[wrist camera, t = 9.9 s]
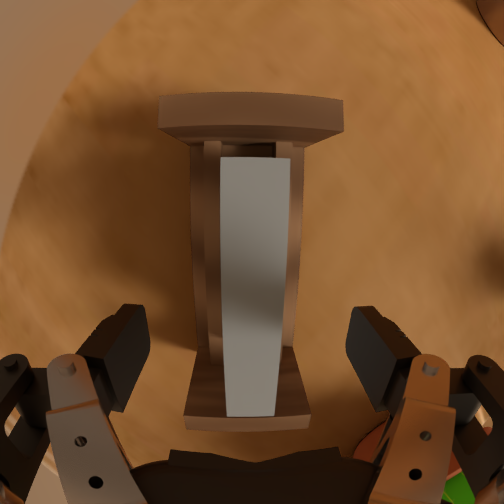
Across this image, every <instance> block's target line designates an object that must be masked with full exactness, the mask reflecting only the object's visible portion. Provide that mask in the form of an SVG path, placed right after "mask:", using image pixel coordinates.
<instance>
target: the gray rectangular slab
mask: <svg viewBox="0 0 504 504" xmlns="http://www.w3.org/2000/svg"><path fill="white" fill-rule="evenodd" d="M289 193H290V159H288V158H262V157H221V162H220V250H221V299H222V330H223V354H224V375H225V393H226V410H227V417H258V416H274V413H275V403H276V394H277V383H278V373H279V362H280V350H281V338H282V325H283V311H284V297H285V281H286V263H287V244H288V221H289Z"/></svg>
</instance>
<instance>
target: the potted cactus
mask: <svg viewBox="0 0 504 504" xmlns="http://www.w3.org/2000/svg"><path fill="white" fill-rule="evenodd" d="M385 423H386V422H384V423H383V424H381V425H380V426H378V427H377V428H376V429H374V430H373V431H372V432H371V433H369V434H368V435H367V436H366V437H365V438H364V439H363V440H362V441H361V442H360V443H359V445H358V446H357V448H356V450H355V452H354V455H353V458H355V459H360V460H364V461H367V462H369V461H370V459H371V457H372V455H373V452H374V450H375V448H376V445H377V443H378V441H379V438H380V436H381V433H382V431H383V428H384V425H385ZM483 429H484V431H485V432H486V434H487V435H489V434H490V432H491V431H492V428H491V427H484V428H483ZM442 499H444V500H446V501H448V502H451V503H453V504H474V503H475V497H474V495H473V493H472V490H471V488H470V486H469V484H468V482H467V480H466V478H465V476H464V474H463V471H462V469H461V467H460V465H459V463H458V461H457V460H456V458H455V456H454V454H453V452H452V451H451V457H450V463H449V469H448V474H447V478H446V483H445V487H444V491H443V495H442Z"/></svg>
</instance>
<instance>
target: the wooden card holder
mask: <svg viewBox="0 0 504 504" xmlns="http://www.w3.org/2000/svg"><path fill="white" fill-rule="evenodd" d="M158 129H160V130H162V131H164V132H166V133H167V134H169V135H171V136H173V137H175V138H177V139H178V140H180V141H182V142H184V143H186V144H187V145H189V146H190V216H191V248H192V270H193V287H194V302H195V315H196V328H197V339H198V350H197V355H196V359H195V364H194V368H193V373H192V377H191V382H190V386H189V391H188V396H187V401H186V405H185V410H184V415H183V416H184V420H185V425H186V429H190V430H204V431H230V432H253V431H279V430H293V429H304V428H308V426H309V422H310V418H311V411H310V408H309V404H308V400H307V397H306V393H305V390H304V386H303V382H302V379H301V375H300V372H299V368H298V365H297V361H296V358H295V354H294V351H293V347H292V346H293V337H294V326H295V316H296V305H297V293H298V280H299V266H300V250H301V233H302V212H303V186H304V148H305V147H307V146H310V145H312V144H314V143H317V142H319V141H322V140H324V139H327V138H329V137H331V136H334V135H336V134H339V133H342V132H344V121H343V100H338V99H331V98H324V97H315V96H306V95H295V94H282V93H263V92H208V93H189V94H176V95H166V96H159V108H158ZM221 157H262V158H288V159H290V193H289V221H288V244H287V263H286V281H285V297H284V311H283V325H282V338H281V350H280V362H279V373H278V383H277V394H276V403H275V413H274V416H258V417H227V410H226V393H225V375H224V354H223V330H222V299H221V250H220V162H221Z"/></svg>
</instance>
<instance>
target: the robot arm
mask: <svg viewBox="0 0 504 504" xmlns="http://www.w3.org/2000/svg"><path fill="white" fill-rule="evenodd" d="M477 6H478V8H479V11H480V13H481V15H482V17H483V19H484V20H485V22H486V24H487V25H488V27H489V28H490V30H491V31H492V33H493V34H494V35H495V36H496V38H497V39H498V40H499V41H500V42H501V43H502V44H503V45H504V0H477ZM149 352H150V337H149V331H148V325H147V319H146V313H145V308H144V306H143V305H137V304H123V305H122V306H121V308H120V309H119V310H118V311H117V313H116V314H115V315H111V316H109V317H107V318H106V319H104V320H102V321H101V323H100V324H99V325H98V326H97V327H96V330H94V331H93V332H92V333H91V336H89V337H88V338H87V340H86V341H85V342H84V343H83V344H82V346H81V347H80V348H79V349H78V351H77V352H76V353H75V354H64V355H61V356H58V357H56V358H55V359H53V360H52V361H51V362H50V363H49V365H48V367H47V368H31V366H30V364H29V361H28V359H27V357H25V356H24V355H22V354H11V355H8V356H6V357H4V358H2V359H1V360H0V504H25V501H26V498H27V496H28V493H29V491H30V488H31V486H32V483H33V480H34V478H35V476H36V473H37V471H38V468H39V466H40V464H41V462H42V459H43V457H44V455H45V453H46V450H47V448H48V446H49V444H50V442H51V447H52V451H53V455H54V459H55V463H56V467H57V471H58V474H59V478H60V481H61V484H62V487H63V490H64V493H65V496H66V499H67V502H68V504H453V503H451V502H448V501H446V500H444V499H442V495H443V491H444V487H445V483H446V478H447V474H448V469H449V463H450V457H451V451H452V452H453V454H454V456H455V458H456V460H457V461H458V463H459V465H460V467H461V469H462V471H463V474H464V476H465V478H466V480H467V482H468V484H469V486H470V488H471V490H472V493H473V495H474V497H475V503H474V504H504V371H503V370H502V369H501V368H500V367H499V366H498V365H497V363H496V362H494V361H493V360H492V359H490V358H488V357H486V356H482V355H474V356H472V357H470V358H469V360H468V362H467V364H466V366H465V368H450V367H449V365H448V364H447V362H446V361H444V360H443V359H442V358H440V357H438V356H435V355H431V354H421V352H420V351H419V350H418V349H417V348H416V347H415V345H414V344H413V343H412V342H411V341H410V340H409V339H408V337H406V335H405V334H404V333H403V332H402V331H401V330H400V328H399V327H398V326H397V325H396V324H395V323H394V322H392V321H391V320H389V319H387V318H386V317H383V316H382V315H381V314H380V313H379V312H378V311H377V310H376V308H375V307H374V306H359V307H354V308H353V310H352V313H351V319H350V324H349V329H348V333H347V338H346V353H347V356H348V358H349V360H350V362H351V364H352V366H353V368H354V370H355V372H356V373H357V375H358V377H359V379H360V381H361V383H362V385H363V387H364V389H365V391H366V393H367V395H368V397H369V399H370V401H371V403H372V405H373V407H374V409H375V411H376V412H380V411H384V410H389V412H390V414H389V416H388V418H387V420H386V423H385V425H384V428H383V431H382V433H381V436H380V438H379V441H378V443H377V445H376V448H375V450H374V452H373V455H372V457H371V459H370V461H369V462H367V461H364V460H360V459H355V458H348V457H341V455H340V452H339V449H338V447H333V448H326V449H319V450H311V451H301V452H296V453H293V454H289V455H286V456H282V457H278V458H275V459H271V460H267V461H262V462H255V463H254V462H248V461H243V460H238V459H233V458H229V457H224V456H220V455H216V454H212V453H200V452H189V451H180V450H170V454H169V459H168V460H162V461H156V462H151V463H147V464H144V465H141V466H138V467H136V468H133V466H132V464H131V462H130V461H129V459H128V457H127V455H126V453H125V451H124V449H123V447H122V445H121V443H120V441H119V439H118V437H117V434H116V432H115V430H114V428H113V425H112V423H111V421H110V419H109V417H108V416H109V414H110V412H111V410H112V411H116V412H121V413H123V412H124V409H125V407H126V405H127V402H128V400H129V398H130V395H131V393H132V391H133V388H134V386H135V384H136V382H137V379H138V377H139V375H140V373H141V371H142V368H143V366H144V364H145V362H146V360H147V357H148V355H149ZM481 404H482V406H483V407H484V408H485V410H486V411H487V413H488V414H489V415H490V417H491V418H492V421H493V428H492V431H491V432H490V434H489V435H487V434H486V432H485V431H484V429H483V428H482V426H481V424H480V423H479V421H478V420H477V418H476V417H475V414H476V412H477V411H478V409H479V408H480V406H481ZM14 407H16V409H17V410H18V412H19V413H20V415H21V416H20V418H19V420H18V421H17V423H16V425H15V426H14V428H13V430H12V431H11V433H10V435H9V437H7V435H6V433H5V428H4V425H5V421H6V419H7V418H8V416H9V415H10V413H11V412H12V410H13V409H14Z"/></svg>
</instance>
